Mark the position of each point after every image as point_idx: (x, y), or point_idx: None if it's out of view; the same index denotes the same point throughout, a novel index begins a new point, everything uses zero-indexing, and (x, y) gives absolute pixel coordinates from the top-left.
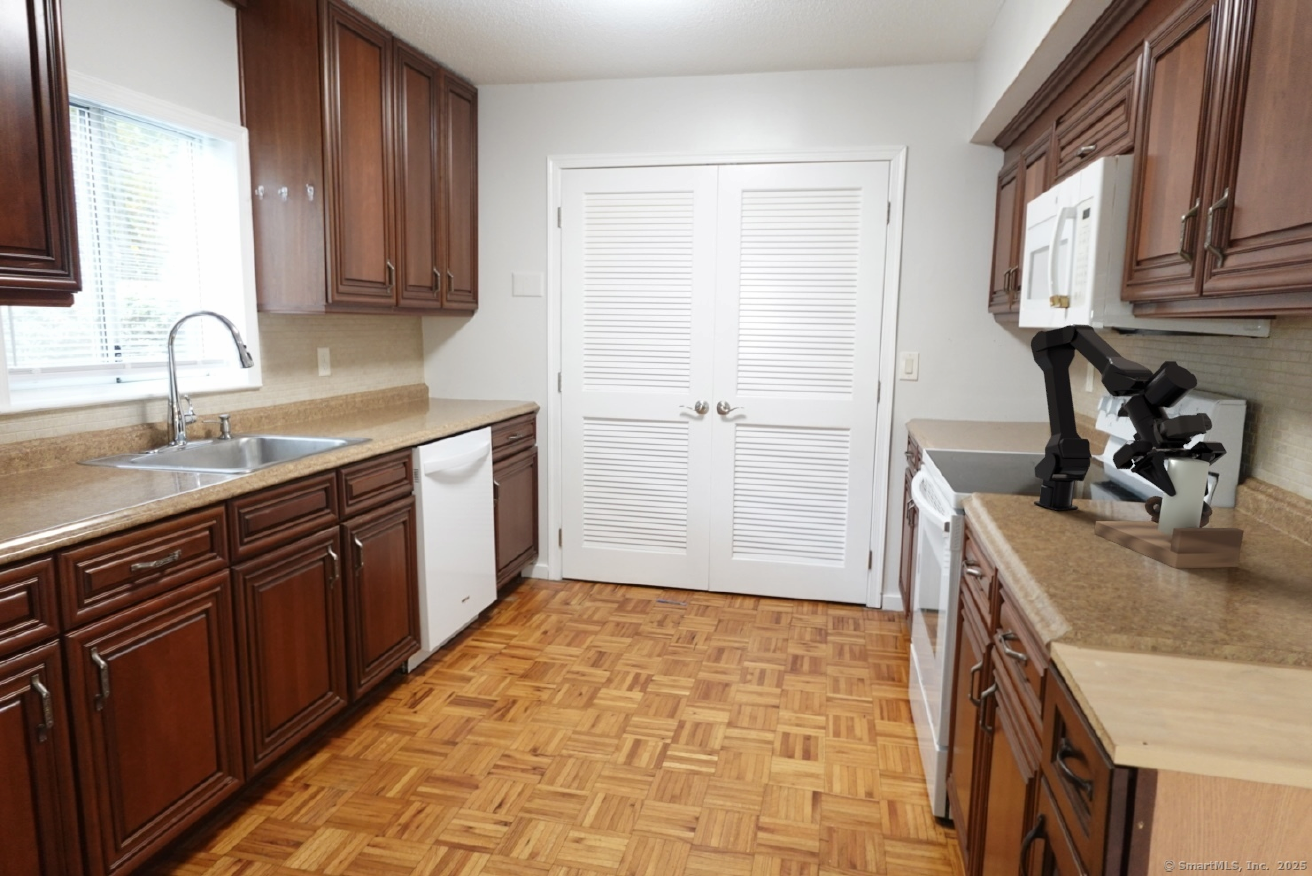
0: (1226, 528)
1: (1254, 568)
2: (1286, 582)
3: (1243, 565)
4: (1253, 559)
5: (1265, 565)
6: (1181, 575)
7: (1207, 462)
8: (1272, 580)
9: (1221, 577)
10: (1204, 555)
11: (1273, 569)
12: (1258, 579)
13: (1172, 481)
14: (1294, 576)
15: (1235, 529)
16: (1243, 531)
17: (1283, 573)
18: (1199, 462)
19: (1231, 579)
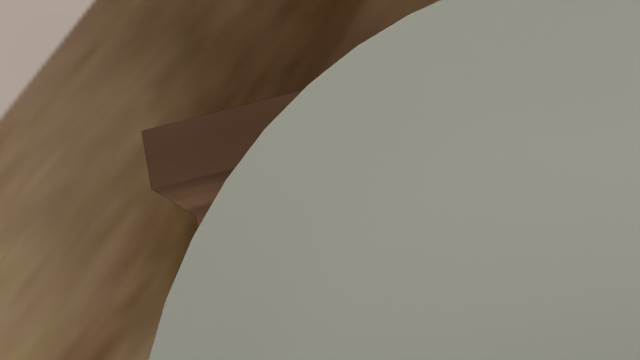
0: (231, 153)
1: (137, 185)
2: (132, 19)
3: (159, 222)
4: (36, 339)
5: (48, 245)
6: None
7: (189, 342)
8: (174, 32)
9: (375, 22)
10: None
11: (56, 189)
12: (227, 31)
13: None
14: (36, 107)
15: (183, 143)
16: (144, 134)
17: (53, 139)
18: (465, 263)
19: (346, 6)
